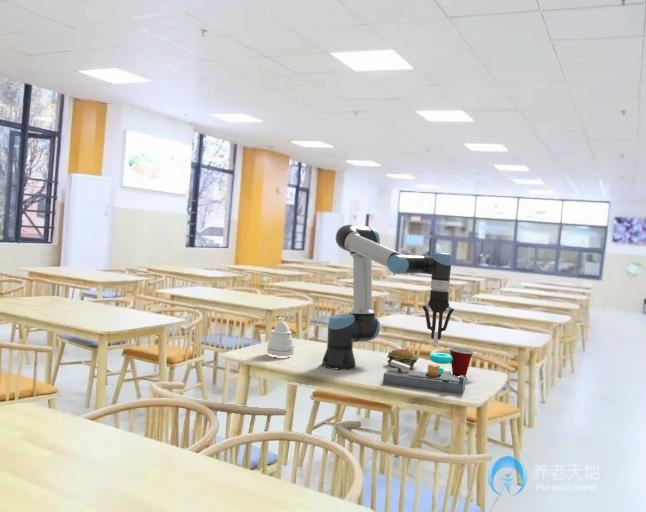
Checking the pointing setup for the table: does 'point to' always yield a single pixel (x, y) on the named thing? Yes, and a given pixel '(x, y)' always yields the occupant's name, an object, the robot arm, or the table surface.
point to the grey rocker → (400, 365)
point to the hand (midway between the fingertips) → (435, 346)
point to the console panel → (424, 380)
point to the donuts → (441, 359)
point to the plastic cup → (460, 360)
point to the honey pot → (281, 340)
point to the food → (402, 357)
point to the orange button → (433, 370)
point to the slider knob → (446, 374)
